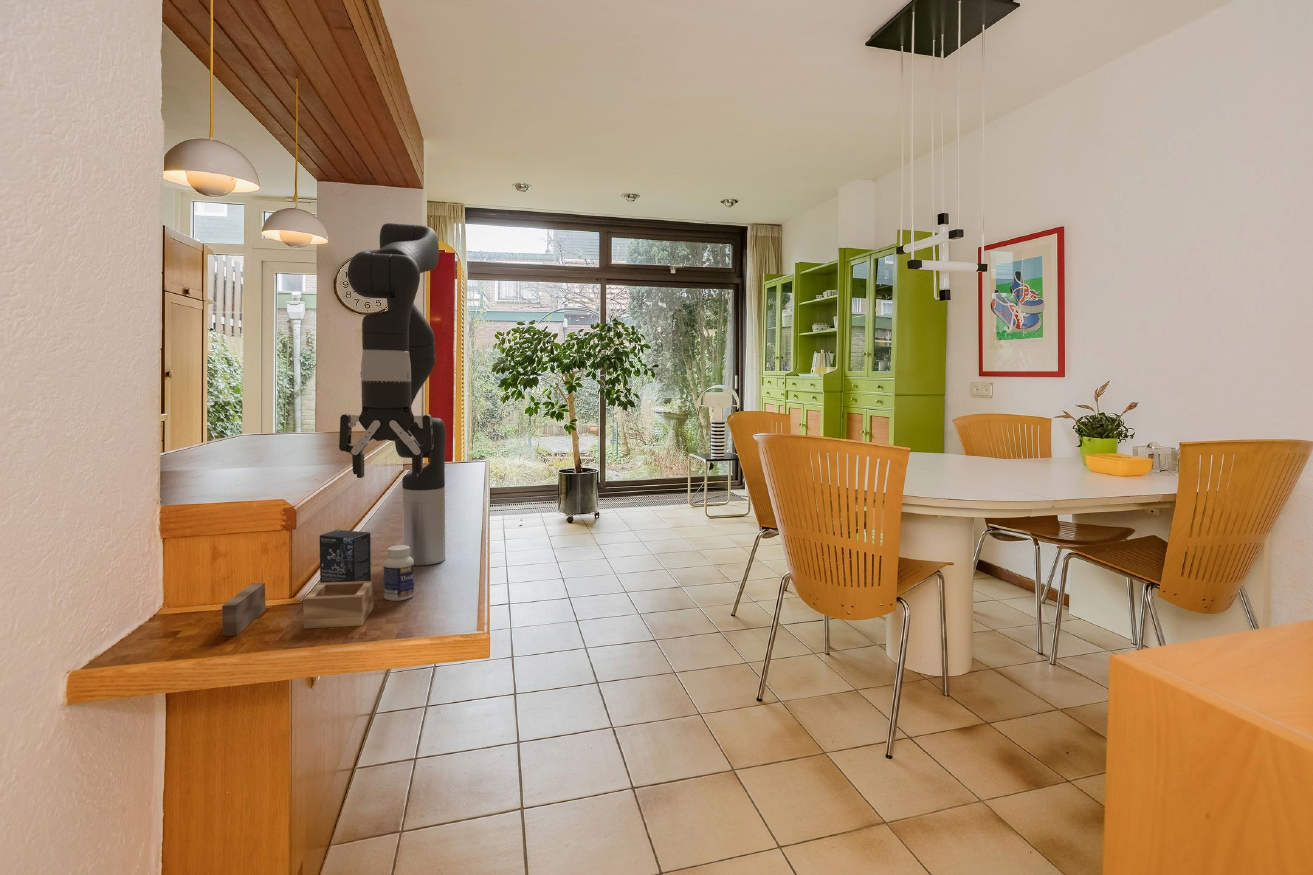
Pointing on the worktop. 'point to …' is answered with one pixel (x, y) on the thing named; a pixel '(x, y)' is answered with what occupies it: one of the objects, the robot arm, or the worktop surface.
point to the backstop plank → (243, 609)
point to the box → (345, 556)
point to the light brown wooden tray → (338, 604)
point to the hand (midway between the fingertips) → (388, 476)
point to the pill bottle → (398, 574)
